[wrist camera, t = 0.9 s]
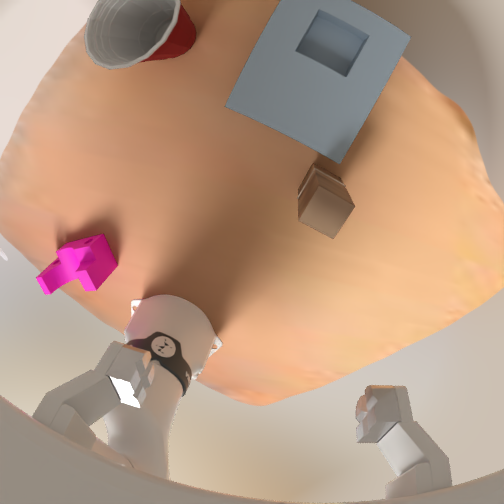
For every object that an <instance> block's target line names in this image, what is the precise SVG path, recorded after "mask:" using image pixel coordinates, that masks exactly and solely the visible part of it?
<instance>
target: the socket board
mask: <svg viewBox="0 0 504 504" xmlns="http://www.w3.org/2000/svg"><path fill="white" fill-rule="evenodd" d="M410 38H411V37H410V36H409V35H408V34H406V33H405V32H403V31H402V30H400V29H399V28H397V27H396V26H394V25H393V24H391V23H390V22H388V21H386V20H385V19H383V18H382V17H380V16H378V15H377V14H375V13H373V12H371V11H370V10H368V9H366V8H364V7H362V6H361V5H359V4H357V3H355V2H353V1H351V0H281V1H280V2H279V4H278V6H277V7H276V9H275V11H274V13H273V14H272V16H271V18H270V20H269V21H268V23H267V25H266V27H265V28H264V30H263V32H262V34H261V36H260V37H259V39H258V41H257V43H256V45H255V47H254V49H253V50H252V52H251V54H250V56H249V58H248V60H247V62H246V64H245V66H244V68H243V70H242V72H241V74H240V76H239V78H238V80H237V82H236V84H235V86H234V88H233V90H232V92H231V94H230V96H229V98H228V100H227V103H226V105H225V107H226V108H229V109H231V110H233V111H236V112H238V113H240V114H243V115H245V116H247V117H249V118H251V119H254V120H256V121H258V122H260V123H262V124H264V125H266V126H268V127H270V128H272V129H275V130H277V131H279V132H281V133H283V134H285V135H287V136H289V137H290V138H292V139H294V140H296V141H298V142H300V143H302V144H304V145H306V146H308V147H309V148H311V149H313V150H315V151H317V152H319V153H320V154H322V155H324V156H326V157H328V158H329V159H331V160H333V161H335V162H336V163H338V164H340V163H341V161H342V160H343V158H344V156H345V155H346V153H347V151H348V149H349V148H350V146H351V144H352V143H353V141H354V139H355V137H356V136H357V134H358V132H359V130H360V129H361V127H362V125H363V124H364V122H365V120H366V118H367V117H368V115H369V113H370V111H371V110H372V108H373V106H374V104H375V102H376V101H377V99H378V97H379V95H380V94H381V92H382V90H383V88H384V86H385V85H386V83H387V81H388V79H389V77H390V76H391V74H392V72H393V70H394V68H395V66H396V65H397V63H398V61H399V59H400V57H401V55H402V53H403V52H404V50H405V48H406V46H407V44H408V42H409V40H410Z"/></svg>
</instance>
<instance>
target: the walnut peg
mask: <svg viewBox="0 0 504 504" xmlns="http://www.w3.org/2000/svg"><path fill="white" fill-rule="evenodd" d="M345 187H346V186H345V185H344V184H343V182H342V180H341V178H339V177H337V176H336V175H334V174H332V173H330V172H329V171H327V170H325V169H323V168H321V167H320V166H318V165H316V164H314V163H313V164H312V166H311V168H310V170H309V171H308V173H307V175H306V177H305V178H304V180H303V182H302V184H301V185H300V187H299V189H298V197H297V199H298V221H300V222H302V223H304V224H306V225H307V226H309V227H311V228H313V229H315V230H317V231H319V232H321V233H323V234H324V235H326V236H328V237H330V238H332V239H334V238H335V236H336V235H337V233H338V232H339V230H340V229H341V227H342V226H343V224H344V223H345V221H346V220H347V218H348V217H349V215H350V214H351V212H352V210H353V209H354V207H355V205H354V203H353V201H352V199H351V197H350V195H349V193H348V191H347V189H346V188H345Z"/></svg>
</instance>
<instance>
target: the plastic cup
mask: <svg viewBox="0 0 504 504" xmlns="http://www.w3.org/2000/svg"><path fill="white" fill-rule="evenodd" d="M195 37H196V30H195V27H194V24H193V23H192V21H191V20H190V17H189V15H188V14H187V12H186V11H185V9H184V8H183V6H182V5H181V2H180V0H99V1H98V2H97V3H96V5H95V7H94V9H93V11H92V12H91V14H90V16H89V18H88V20H87V25H86V30H85V34H84V39H85V46H86V52H87V54H88V55H89V56H90V58H91V59H92V60H93V62H94V63H95V64H97V65H99V66H102V67H104V68H107V69H109V70H110V69H118V68H127V67H131V66H133V65H134V64H136V63H139V62H145V61H151V60H162V59H167V58H175V57H177V56H180V55H182V54H184V53H185V52H187V51H188V50H189V49H190V48H191V47H192V45H193V43H194V41H195Z"/></svg>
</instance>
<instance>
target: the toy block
mask: <svg viewBox="0 0 504 504" xmlns="http://www.w3.org/2000/svg"><path fill="white" fill-rule="evenodd" d="M56 253H57V256H58V258H57V259H56V260H55V261H54V262H52V263H51V264H50V265H49V266H48V267H47V268H46V269H45V270H44V271H43V272H42V273H41V274H40V275H38V276H37V277H36V279H37V281H38V283H39V284H40V286H41V288H42V290H43V292H44V293H45V294H51V293H53V292H54V291H55V290H56V289H58V288H59V287H61V286H62V285H64V284H66V283H68V282H70V281H72V280H75V279H78V278H79V280H80V282H81V284H82V286H83V288H84V289H85V291H94V290H97V289H98V288H99V287H100V286H101V284H102V283H103V282H104V281H105V280H106V279H107V278H108V276H109V275H110V274H111V273H112V272H113V271H114V270H115V268H116V267H117V266H118V265H117V262H116V260H115V258H114V256H113V254H112V252H111V249H110V247H109V245H108V243H107V240H106V238H105V236H104V234H100V235H96V236H92V237H88V238H84V239H80V240H76V241H72V242H68V243H66V244H65V245H63V246H62V247H61V248H60V249H59V250H57V251H56Z"/></svg>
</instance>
